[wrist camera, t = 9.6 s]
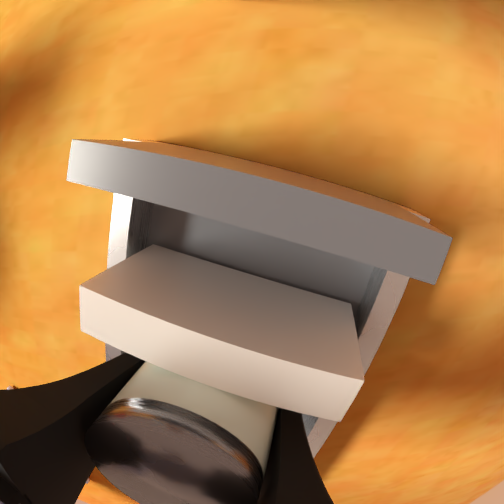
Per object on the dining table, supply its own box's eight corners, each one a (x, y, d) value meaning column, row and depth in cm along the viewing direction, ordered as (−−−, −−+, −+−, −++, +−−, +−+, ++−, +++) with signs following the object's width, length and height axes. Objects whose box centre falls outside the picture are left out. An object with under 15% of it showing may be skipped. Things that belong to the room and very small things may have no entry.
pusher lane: (276, 488, 16) (259, 559, 11) (130, 437, 17) (90, 496, 12) (410, 208, 10) (482, 249, 5) (153, 140, 12) (51, 136, 6)
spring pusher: (336, 338, 11) (340, 421, 7) (148, 279, 12) (80, 330, 8) (351, 303, 11) (364, 380, 7) (153, 244, 12) (79, 285, 8)
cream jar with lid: (271, 422, 13) (242, 537, 7) (165, 392, 13) (101, 487, 8) (298, 329, 11) (275, 466, 5) (167, 297, 12) (69, 392, 6)
